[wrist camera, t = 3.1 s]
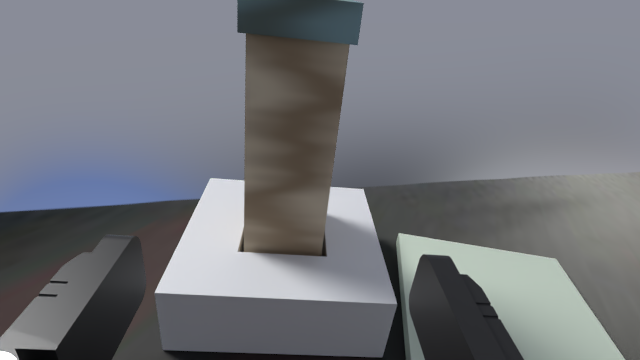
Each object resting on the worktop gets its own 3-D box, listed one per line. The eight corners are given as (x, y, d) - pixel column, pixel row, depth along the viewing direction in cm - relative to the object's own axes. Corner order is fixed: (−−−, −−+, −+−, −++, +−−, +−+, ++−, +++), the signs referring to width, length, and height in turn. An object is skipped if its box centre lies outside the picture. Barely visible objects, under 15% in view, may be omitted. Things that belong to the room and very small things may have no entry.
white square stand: (162, 350, 19) (154, 292, 17) (212, 222, 29) (210, 178, 27) (382, 357, 20) (397, 304, 18) (355, 231, 30) (363, 189, 28)
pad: (408, 384, 19) (412, 372, 18) (396, 243, 29) (398, 233, 29) (655, 432, 18) (666, 420, 17) (550, 268, 28) (555, 258, 28)
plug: (237, 304, 22) (237, -12, 14) (248, 251, 26) (253, -12, 19) (319, 308, 22) (363, 3, 15) (317, 255, 27) (349, -1, 19)
